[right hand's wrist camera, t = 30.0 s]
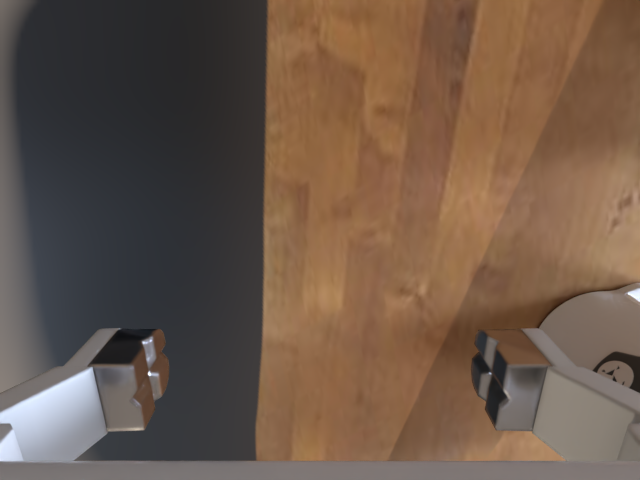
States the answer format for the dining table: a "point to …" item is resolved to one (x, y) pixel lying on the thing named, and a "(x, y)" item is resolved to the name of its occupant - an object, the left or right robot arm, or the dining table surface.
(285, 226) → the dining table surface
